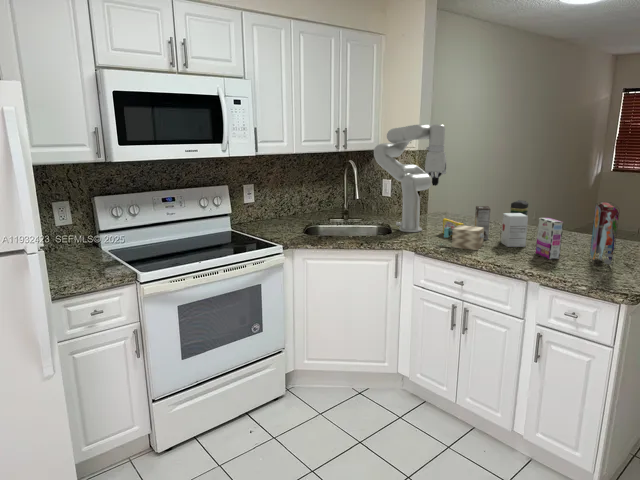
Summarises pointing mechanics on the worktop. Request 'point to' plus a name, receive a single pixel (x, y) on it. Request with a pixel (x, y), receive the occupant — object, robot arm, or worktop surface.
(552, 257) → the candy bar box
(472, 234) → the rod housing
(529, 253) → the worktop surface
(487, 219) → the coffee box
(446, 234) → the teal and silver rod
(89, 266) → the worktop surface
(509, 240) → the supplement box
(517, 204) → the coffee jar
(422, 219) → the worktop surface
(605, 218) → the box
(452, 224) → the candy box
